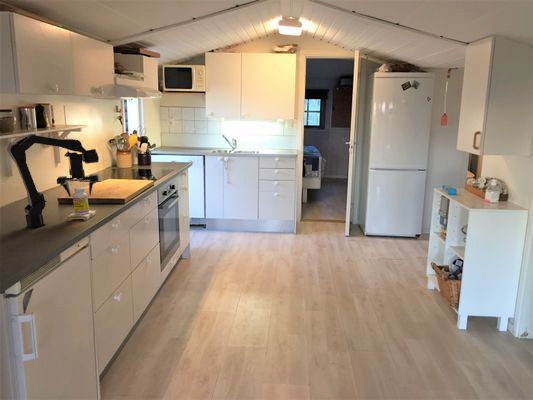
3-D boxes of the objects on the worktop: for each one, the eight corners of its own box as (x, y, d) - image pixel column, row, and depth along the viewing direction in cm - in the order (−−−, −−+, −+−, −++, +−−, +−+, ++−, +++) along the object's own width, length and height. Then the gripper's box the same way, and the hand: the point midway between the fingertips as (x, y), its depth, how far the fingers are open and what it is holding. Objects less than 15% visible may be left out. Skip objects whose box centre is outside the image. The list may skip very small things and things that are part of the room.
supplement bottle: (72, 215, 217) (69, 189, 214) (78, 211, 223) (75, 187, 220) (85, 215, 217) (82, 189, 214) (91, 211, 223) (88, 186, 220)
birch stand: (87, 220, 214) (86, 216, 214) (67, 220, 215) (66, 216, 214) (97, 213, 226) (96, 210, 226) (78, 214, 226) (77, 210, 226)
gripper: (98, 161, 224) (101, 191, 228) (58, 163, 219) (62, 194, 223) (96, 164, 214) (99, 195, 218) (54, 167, 209) (58, 199, 213)
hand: (80, 196), depth 218 cm, fingers open, 9 cm apart
